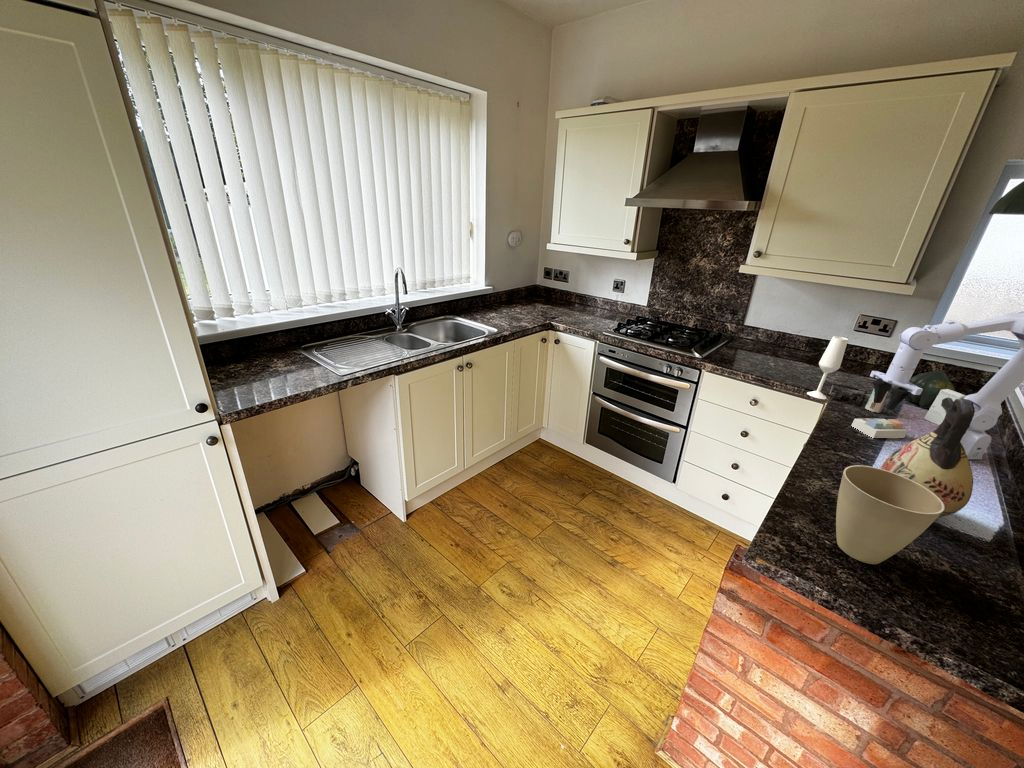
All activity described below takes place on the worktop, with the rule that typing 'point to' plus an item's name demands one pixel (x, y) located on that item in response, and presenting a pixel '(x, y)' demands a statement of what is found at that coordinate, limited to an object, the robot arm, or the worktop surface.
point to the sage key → (886, 423)
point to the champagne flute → (830, 361)
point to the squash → (929, 387)
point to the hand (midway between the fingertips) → (883, 405)
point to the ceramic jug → (940, 458)
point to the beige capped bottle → (877, 406)
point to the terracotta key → (896, 423)
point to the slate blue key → (874, 423)
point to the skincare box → (936, 410)
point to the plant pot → (881, 513)
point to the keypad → (878, 430)
